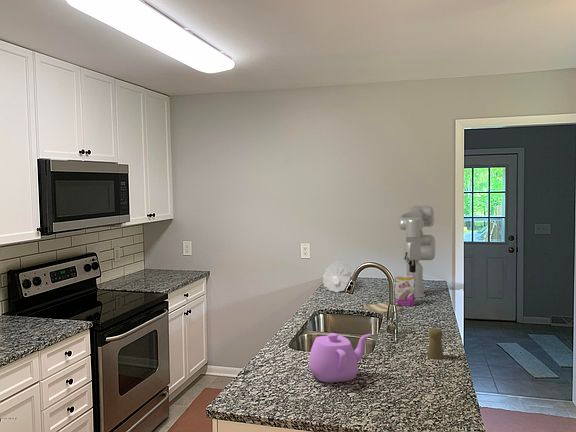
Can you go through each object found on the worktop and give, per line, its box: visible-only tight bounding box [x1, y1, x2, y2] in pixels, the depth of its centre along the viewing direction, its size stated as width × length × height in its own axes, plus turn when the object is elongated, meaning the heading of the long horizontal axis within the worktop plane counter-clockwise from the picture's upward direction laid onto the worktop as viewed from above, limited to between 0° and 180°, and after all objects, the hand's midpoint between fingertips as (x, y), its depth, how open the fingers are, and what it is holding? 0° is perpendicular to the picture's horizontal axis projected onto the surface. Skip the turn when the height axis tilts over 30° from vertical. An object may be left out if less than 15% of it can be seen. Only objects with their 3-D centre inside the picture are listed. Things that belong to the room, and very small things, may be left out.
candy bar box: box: [393, 275, 415, 307], centre depth 271 cm, size 11×5×16 cm, turn 84°
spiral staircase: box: [322, 260, 353, 293], centre depth 314 cm, size 18×18×25 cm
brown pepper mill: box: [427, 328, 444, 360], centre depth 188 cm, size 6×6×11 cm
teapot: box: [308, 332, 372, 383], centre depth 169 cm, size 23×21×15 cm
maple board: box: [363, 302, 404, 315], centre depth 262 cm, size 15×15×1 cm
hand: (412, 272), depth 274 cm, fingers closed
